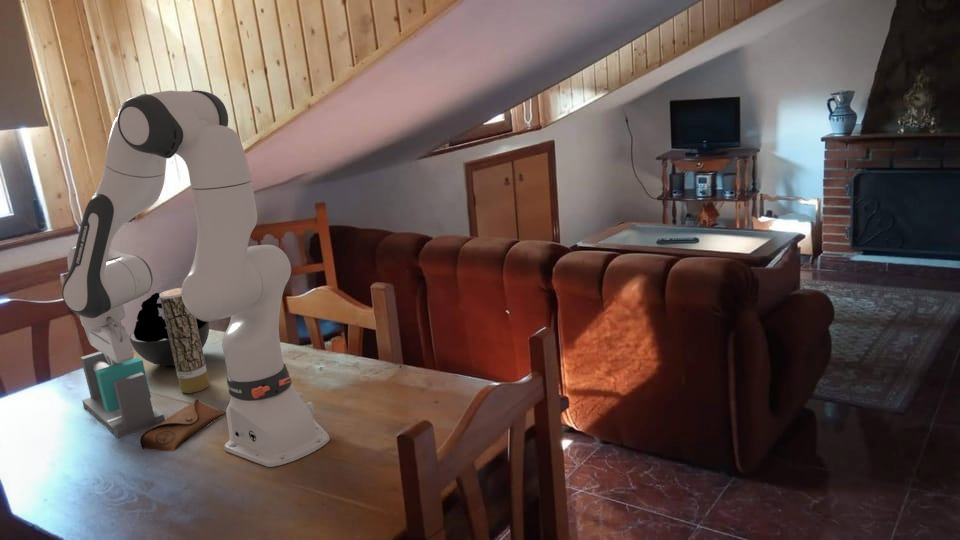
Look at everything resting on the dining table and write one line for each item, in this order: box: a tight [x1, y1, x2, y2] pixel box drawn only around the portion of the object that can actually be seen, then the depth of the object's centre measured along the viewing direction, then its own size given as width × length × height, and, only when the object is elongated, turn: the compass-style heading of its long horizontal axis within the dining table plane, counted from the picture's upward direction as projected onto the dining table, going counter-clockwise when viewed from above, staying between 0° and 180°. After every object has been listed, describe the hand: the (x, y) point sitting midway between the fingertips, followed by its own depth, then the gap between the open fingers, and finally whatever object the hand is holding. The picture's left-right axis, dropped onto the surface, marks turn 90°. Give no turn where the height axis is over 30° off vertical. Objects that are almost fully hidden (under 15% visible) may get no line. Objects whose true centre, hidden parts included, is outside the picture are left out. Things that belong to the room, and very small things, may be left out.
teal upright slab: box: [95, 357, 152, 412], centre depth 165 cm, size 3×9×9 cm, turn 133°
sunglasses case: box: [139, 398, 226, 452], centre depth 160 cm, size 18×7×7 cm, turn 161°
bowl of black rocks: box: [129, 292, 210, 367], centre depth 198 cm, size 20×20×19 cm
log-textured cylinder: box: [159, 287, 210, 394], centre depth 179 cm, size 7×7×25 cm
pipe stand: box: [80, 350, 166, 439], centre depth 171 cm, size 26×10×12 cm, turn 43°
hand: (116, 371), depth 167 cm, fingers closed
